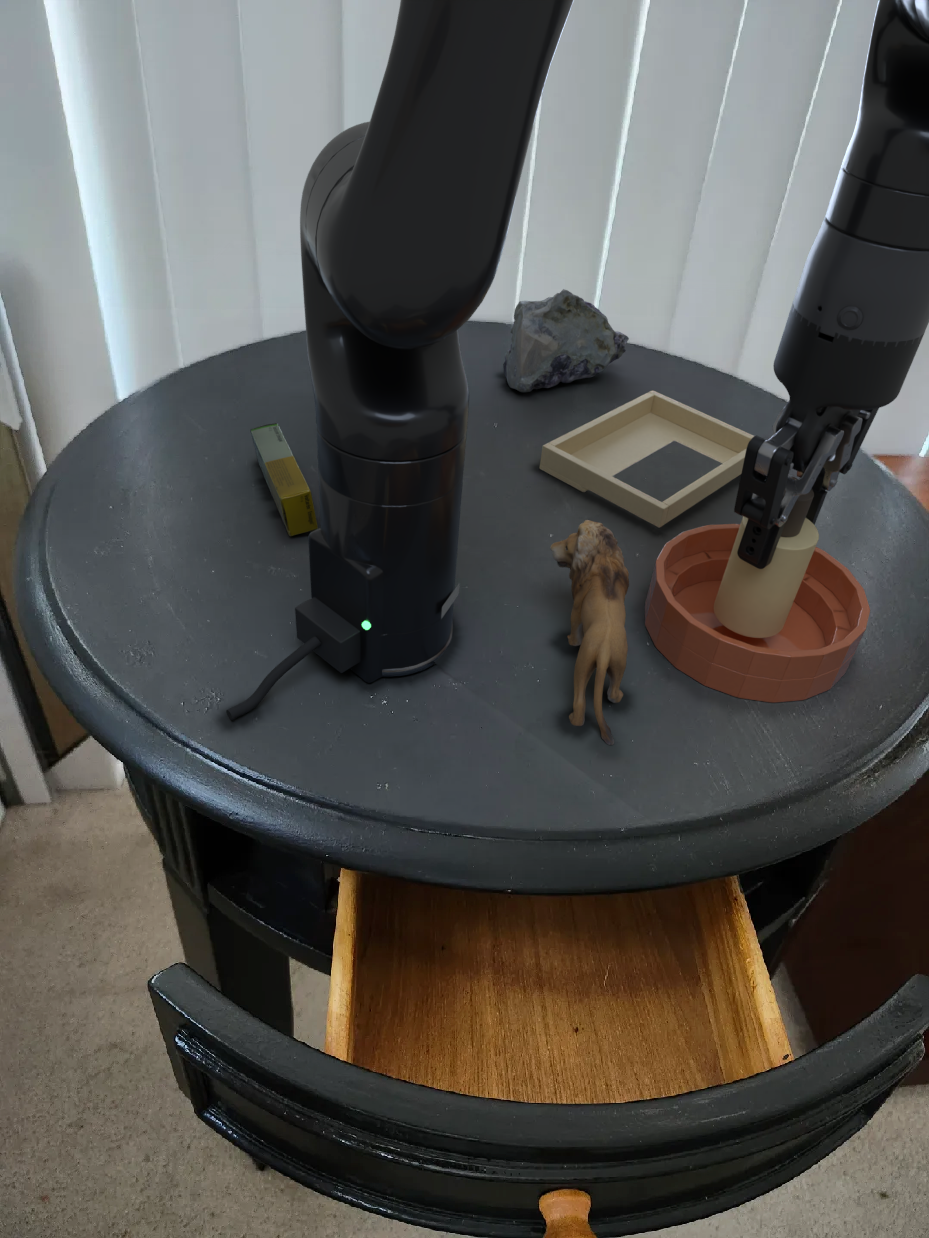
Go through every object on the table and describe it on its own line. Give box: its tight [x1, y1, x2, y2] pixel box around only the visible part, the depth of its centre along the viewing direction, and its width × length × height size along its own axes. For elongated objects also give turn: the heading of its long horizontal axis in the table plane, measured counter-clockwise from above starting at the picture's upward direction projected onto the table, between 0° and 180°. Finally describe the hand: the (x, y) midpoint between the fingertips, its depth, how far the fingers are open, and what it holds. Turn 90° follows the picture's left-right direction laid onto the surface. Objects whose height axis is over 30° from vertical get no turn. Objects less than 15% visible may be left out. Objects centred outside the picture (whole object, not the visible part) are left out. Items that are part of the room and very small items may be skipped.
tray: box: [538, 389, 755, 528], centre depth 87 cm, size 18×14×2 cm
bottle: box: [714, 489, 820, 638], centre depth 65 cm, size 5×5×11 cm
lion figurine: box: [550, 519, 630, 746], centre depth 63 cm, size 15×5×9 cm, turn 6°
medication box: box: [250, 422, 319, 537], centre depth 78 cm, size 12×3×4 cm, turn 22°
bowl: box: [644, 523, 871, 704], centre depth 69 cm, size 15×15×5 cm
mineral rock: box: [502, 288, 630, 393], centre depth 97 cm, size 13×11×10 cm
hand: (773, 545), depth 64 cm, fingers closed on bottle, 5 cm apart
